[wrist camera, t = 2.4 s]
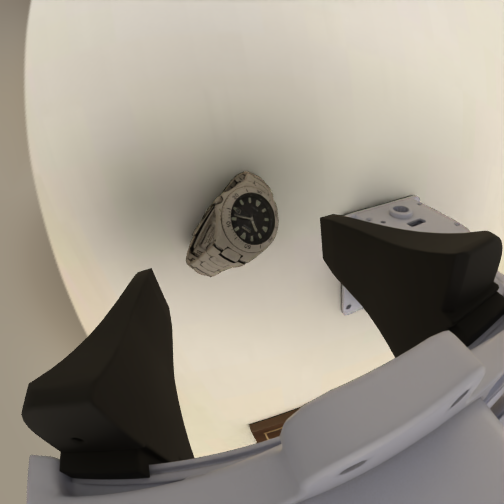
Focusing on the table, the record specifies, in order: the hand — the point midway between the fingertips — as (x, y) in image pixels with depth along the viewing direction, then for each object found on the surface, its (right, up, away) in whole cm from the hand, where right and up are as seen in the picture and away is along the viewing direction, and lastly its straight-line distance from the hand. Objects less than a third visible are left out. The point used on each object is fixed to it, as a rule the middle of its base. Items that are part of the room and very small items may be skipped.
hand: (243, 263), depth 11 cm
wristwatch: (-2, +3, +6) cm, 7 cm away
